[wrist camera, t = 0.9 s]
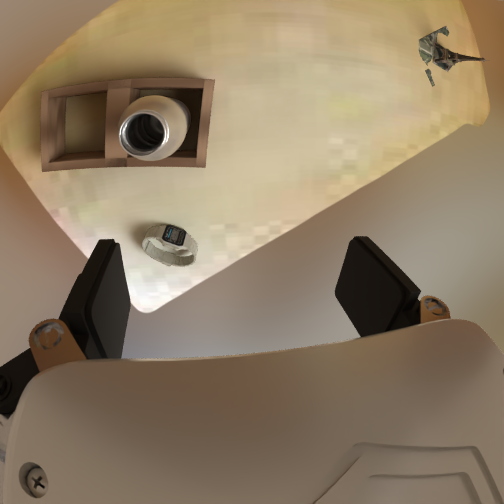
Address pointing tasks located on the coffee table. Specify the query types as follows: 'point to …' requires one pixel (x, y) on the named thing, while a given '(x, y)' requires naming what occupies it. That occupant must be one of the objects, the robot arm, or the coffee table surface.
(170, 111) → the plastic bottle
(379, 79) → the coffee table surface
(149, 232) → the wristwatch
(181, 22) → the coffee table surface
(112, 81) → the bottle rack
